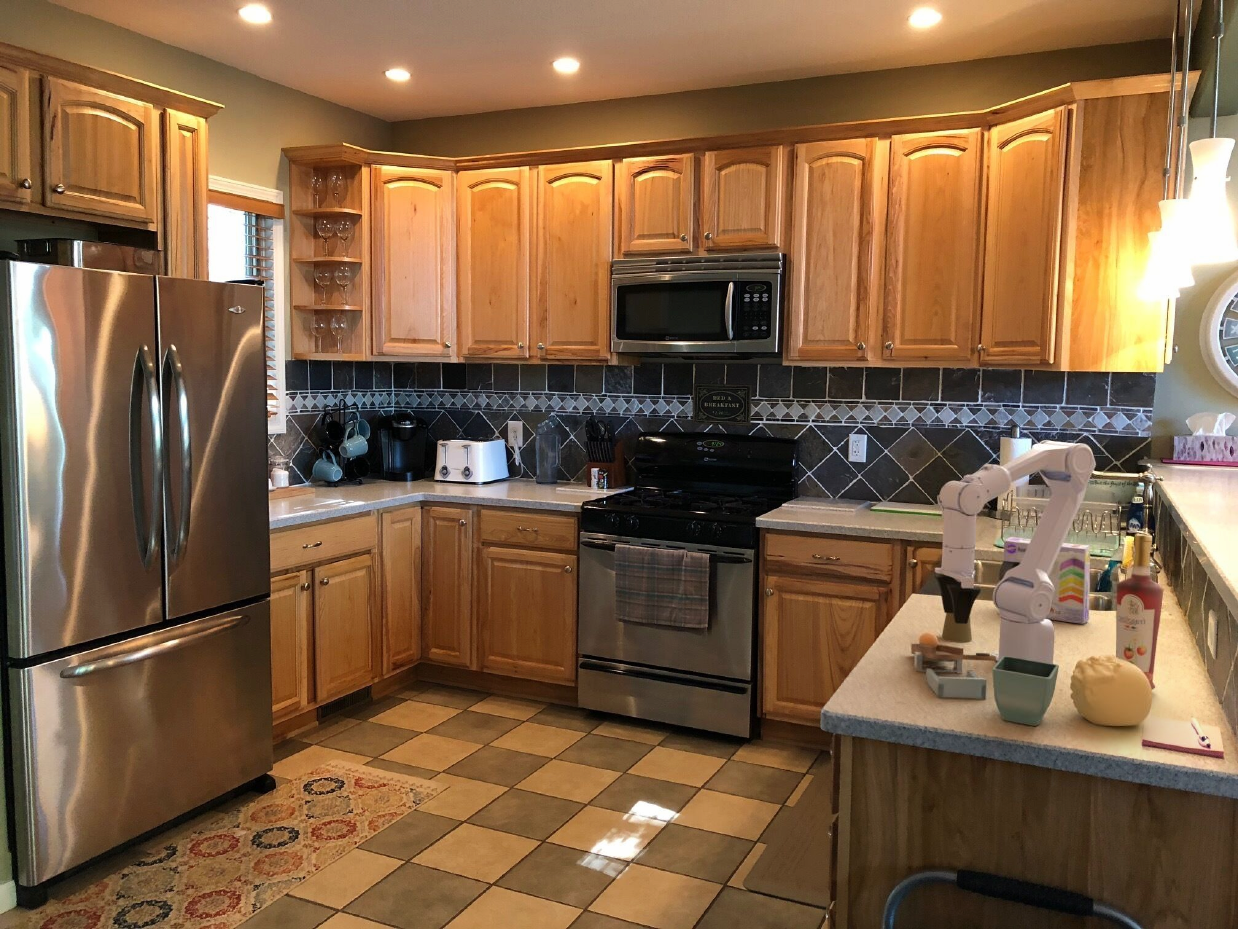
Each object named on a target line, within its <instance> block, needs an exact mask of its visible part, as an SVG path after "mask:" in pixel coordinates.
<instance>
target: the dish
mask: <svg viewBox="0 0 1238 929" xmlns="http://www.w3.org/2000/svg"><path fill="white" fill-rule="evenodd" d="M925 674H926V675H925V683H926V684H927V685H928V687H929V688H930V689H931V690H932V692H933V691H934V692H933V693H934V694H935V695H936V697H937V696H938V697H937V698H938V699H959V698H960V699H964V700H965V699H966V700H986V698H987V683H988V682H987V680H988V679H987V678H986V677H979V676H978V674H976V673H975V671H973V670H971V669H967V670H966V677H965V676H964V677H962V676H959V677H958V676H938V675H937V674H936V672H933V670H932V669H927V672H925Z"/></svg>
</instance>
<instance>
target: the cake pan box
mask: <svg viewBox="0 0 1238 929" xmlns="http://www.w3.org/2000/svg"><path fill="white" fill-rule="evenodd" d="M1031 539H1032V538H1030V539H1029V538H1022V537H1013V536H1010V537H1008V538H1006V539H1005V540H1004V542H1003V561H1002V563H1001V565H1000V567H999V573H998V580H999V582H1000V581H1001V580H1002V579H1003V578H1004V576H1005V574H1006V572H1007V571H1008V570H1010V569H1012V568H1014V567H1017V566H1018V565H1020V563H1021V561H1022V559H1023V556H1024V554H1025V552H1026V550H1027V548H1028V545H1029V543H1030V541H1031ZM1090 575H1091V545H1087V544H1077V543H1068V542H1066V543H1065V542H1063V544H1062V547H1061V549H1060V551H1059V553H1058V556H1057V558H1056V560H1055V562H1054V564H1053V567H1052V569H1051V571H1050V573H1049V575H1048V578H1049V579H1050V581H1051V583H1052V584H1053V586H1054V588H1055V591H1054V594H1053V596H1052V604H1051V609H1050V612H1049V614H1048V615H1047V616H1046V617H1045V618H1044V619H1048V620H1050V621H1051V620H1052V621H1059V622H1060V621H1061V622H1065V623H1066V622H1067V623H1072V624H1073V623H1074V624H1081V625H1083V624H1086V623H1087V622H1089V620H1090V590H1091V587H1090V586H1091V579H1090V578H1091V576H1090ZM1031 587H1032V586H1031Z"/></svg>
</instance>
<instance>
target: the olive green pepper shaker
mask: <svg viewBox="0 0 1238 929" xmlns="http://www.w3.org/2000/svg"><path fill="white" fill-rule="evenodd" d="M941 638H942V639H943V640H946V641H948V640H949V642H953V643H954V642H955V643H969V642H972V641H973V638H972V627H971V616H970V617H969V620H968V623H967V624H958V623H955V620H954V615H953V613H945V617H944V623H943V627H942V633H941Z"/></svg>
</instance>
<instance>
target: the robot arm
mask: <svg viewBox="0 0 1238 929" xmlns="http://www.w3.org/2000/svg"><path fill="white" fill-rule="evenodd" d="M1096 466H1097V463H1096V460H1095V456H1094V454H1093V451H1092V449H1091V447H1090V446H1089V445H1088V444H1086V443H1071V442H1064V441H1063V442H1061V441H1052V440H1049V439H1045V440H1041V441H1040V442H1038V443H1035V444H1033V445H1031V448H1030V449H1029V450H1027V451H1026V452H1024V453H1023V454H1021V455H1019V456H1017V457H1015V458H1014V459H1012V460H1010V461H1008V462H1007V463H1005V464H1004V465H999V464H990V463H985V464H983V465H982V469H980V470H979V471H976V472H974V473H972V474H966V475H964V476H963V478H962V479H961V480H959V481H957V480H951V481H948V482H946V483H945V484H944V485H943V486H942V487H941V489H940V492H939V495H937V496H936V497H937V504H938V506H939V507H940V509H941V517H942V519H943V526H942V527H943V528H942V548H941V550H942V554H941V555H942V556H941V567H935V568H934V572H935V573H936V574H935V575H934V579H935V581H936V582H937V585H938V588H939V591H940V595H941V601H942V606H943V607H942V608H943V612H944V613H945V614H946V613H953V615H954V620H955V623H958V624H967V623H968V620H969V617H970V618H971V612H972V609H973V606H974V603H975V601H976V599H977V597H978V596H979V595H980V594H981V590H982V589H981V588H980V587H979V586H974V584H975V575H976V570H975V560H976V559H975V556H976V532H977V531H976V530H977V529H976V528H977V514H979V513H981V511H982V510H983V509H984V507H985V504H986V503H988V502H990V501H991V500H993V499H995V498H997V497H999V496H1001V495H1003V494H1005V493H1007V492H1009V490H1010V488H1011V484H1012V483H1013V482H1016V481H1018V480H1020V479H1023V478H1025V477H1028V476H1030V475H1031V474H1034V473H1037V472H1038V473H1039V474H1040V476H1041V477H1042V479H1043V481H1044V482H1045V483H1046V485H1047V486H1048V487H1049V488H1050V490H1051V496H1050V497H1049V500H1048V502H1047V504H1046V506H1045V508H1044V510H1043V512H1042V515H1041V517H1040V520H1039V521H1038V524H1037V526H1036V528H1035V530H1034V533H1033V535H1032V537H1031V538H1030V539H1031V541H1030V543H1029V545H1028V548H1027V550H1026V552H1025V554H1024V556H1023V559H1022V561H1021V563H1020V565H1018V566H1017V567H1014V568H1012V569H1010V570H1008V571H1007V572H1006V574H1005V576H1004V578H1003V579H1002V580H1001V581H999V582H998V583H997V584H996V585H995V587H994V589H993V592H992V602H993V604H994V607H996V609H997V611H998V612H997V613H998V615H1000V623H999V639H998V640H999V643H998V653H990V655H991V656H996V661H997V662H998V661H999V660H1000V658H1001V657H1002V656H1010V657H1016V658H1022V659H1027V660H1033V661H1039V662H1045V663H1051V664H1054V654H1055V653H1054V652H1055V636H1056V635H1055V628H1054V625H1053V622H1052V621H1051V619H1044V618H1045V617H1046V616H1047V615H1048V614H1049V612H1050V609H1051V604H1052V596H1053V594H1054V591H1055V588H1054V586H1053V584H1052V583H1051V581H1050V579H1049V578H1048V575H1049V573H1050V571H1051V569H1052V567H1053V564H1054V562H1055V560H1056V558H1057V556H1058V553H1059V551H1060V549H1061V547H1062V544H1063V543H1065V539H1066V538H1067V535H1068V533H1069V531H1070V529H1071V526H1072V524H1073V523H1074V521H1075V518H1076V515H1077V513H1078V511H1079V508H1080V506H1081V505H1082V502H1083V500H1084V498H1085V496H1086V492H1087V491H1086V490H1087V487H1088V483H1089V481H1090V478H1091V476H1092V474H1093V472H1094V470H1095V468H1096ZM1031 586H1032V587H1031ZM997 662H996V663H997Z"/></svg>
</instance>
